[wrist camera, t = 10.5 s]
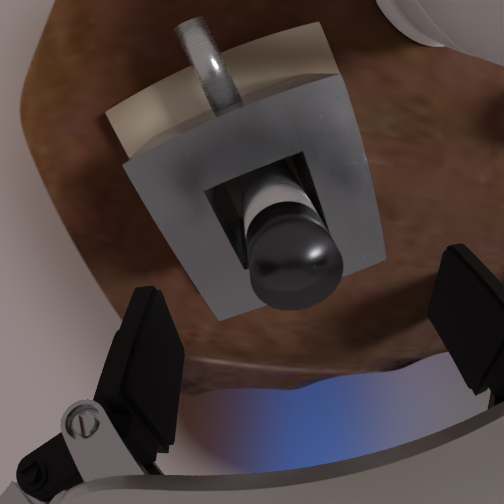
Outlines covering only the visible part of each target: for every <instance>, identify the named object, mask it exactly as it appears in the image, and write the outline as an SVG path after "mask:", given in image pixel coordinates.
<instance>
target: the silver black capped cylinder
mask: <svg viewBox="0 0 504 504" xmlns="http://www.w3.org/2000/svg"><path fill="white" fill-rule="evenodd" d="M239 181H240V190H241V199H242V209H243V218H244V227H245V236H246V245H247V255H248V264H249V273H250V282H251V286H252V289H253V291H254V293H255V294H256V296H257V297H258V298H259V299H260V300H261V301H262V302H264V303H265V304H267V305H269V306H271V307H273V308H276V309H281V310H300V309H305V308H308V307H311V306H314V305H316V304H318V303H320V302H321V301H323V300H324V299H326V298H327V297H328V296H329V295H330V294H331V293H332V292H333V291H334V290H335V289H336V287H337V286H338V284H339V282H340V280H341V278H342V274H343V258H342V255H341V253H340V251H339V249H338V248H337V246H336V244H335V242H334V241H333V239H332V237H331V235H330V234H329V232H328V230H327V228H326V227H325V225H324V223H323V222H322V220H321V218H320V216H319V215H318V213H317V211H316V210H315V208H314V206H313V205H312V203H311V201H310V200H309V198H308V196H307V195H306V193H305V192H304V190H303V188H302V187H301V185H300V183H299V182H298V180H297V179H296V177H295V175H294V174H293V172H292V171H291V169H290V168H289V166H288V164H287V163H286V161H285V160H284V159H281V160H278V161H275V162H273V163H270V164H268V165H265V166H263V167H260V168H257V169H255V170H252V171H250V172H248V173H245V174H243V175H240V176H239Z"/></svg>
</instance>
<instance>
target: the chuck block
mask: <svg viewBox="0 0 504 504" xmlns="http://www.w3.org/2000/svg"><path fill="white" fill-rule="evenodd" d="M174 31H175V33H176V35H177V37H178V39H179V41H180V44H181V46H182V48H183V50H184V52H185V54H186V56H187V58H188V60H189V62H190V64H191V66H192V68H193V71H194V73H195V75H196V77H197V79H198V81H199V83H200V85H201V87H202V90H203V92H204V94H205V96H206V98H207V100H208V102H209V104H210V107H211V109H210V110H208V111H206V112H204V113H201V114H199V115H197V116H195V117H193V118H191V119H188V120H186V121H184V122H182V123H180V124H178V125H176V126H174V127H172V128H170V129H168V130H166V131H164V132H162V133H160V134H158V135H156V136H154V137H152V138H151V139H150V140H149V141H148V142H147V143H146V144H144V145H143V146H142V147H141V148H140V149H139V150H138V151H137V152H135V153H134V154H133V155H132V156H131V157H130V158H129V159H128V160H127V161H126V162H125V163H124V164H122V166H123V168H124V169H125V171H126V173H127V175H128V177H129V178H130V180H131V182H132V184H133V185H134V187H135V189H136V191H137V192H138V194H139V196H140V197H141V199H142V201H143V203H144V204H145V206H146V208H147V209H148V211H149V213H150V214H151V216H152V218H153V219H154V221H155V223H156V224H157V226H158V228H159V229H160V231H161V232H162V234H163V236H164V237H165V239H166V241H167V242H168V244H169V245H170V247H171V249H172V250H173V252H174V253H175V255H176V257H177V258H178V260H179V261H180V263H181V264H182V266H183V268H184V269H185V271H186V272H187V274H188V275H189V277H190V278H191V280H192V281H193V283H194V284H195V286H196V288H197V289H198V291H199V292H200V294H201V295H202V297H203V298H204V300H205V301H206V303H207V304H208V306H209V307H210V308H211V310H212V311H213V313H214V314H215V316H216V317H217V319H218V320H219V321H221V320H224V319H227V318H230V317H233V316H236V315H239V314H242V313H245V312H248V311H251V310H254V309H257V308H260V307H263V306H266V305H267V304H265V303H264V302H262V301H261V300H260V299H259V298H258V297H257V296H256V294H255V293H254V291H253V289H252V286H251V282H250V273H249V264H248V255H247V245H246V236H245V227H244V218H243V216H242V217H239V215H238V213H237V211H236V208H235V206H234V204H233V202H232V200H231V198H230V196H229V194H228V192H227V190H226V188H225V185H224V183H223V182H226V181H228V180H231V179H233V178H235V177H238V176H240V175H243V174H245V173H248V172H250V171H252V170H255V169H257V168H260V167H263V166H265V165H268V164H270V163H273V162H275V161H278V160H281V159H283V158H286V157H289V156H292V159H293V162H294V164H295V167H296V170H297V172H298V175H299V178H300V181H301V184H302V186H303V189H304V192H305V193H306V195H307V196H308V198H309V200H310V201H311V203H312V205H313V206H314V208H315V210H316V211H317V213H318V215H319V216H320V218H321V220H322V222H323V223H324V225H325V227H326V228H327V230H328V232H329V234H330V235H331V237H332V239H333V241H334V242H335V244H336V246H337V248H338V249H339V251H340V253H341V255H342V258H343V274H342V277H344V276H347V275H349V274H352V273H354V272H357V271H359V270H362V269H364V268H367V267H369V266H372V265H374V264H377V263H379V262H382V261H384V260H386V252H385V246H384V240H383V234H382V228H381V223H380V217H379V212H378V207H377V202H376V197H375V193H374V188H373V184H372V179H371V175H370V171H369V166H368V162H367V158H366V154H365V151H364V147H363V143H362V139H361V136H360V132H359V129H358V125H357V122H356V118H355V115H354V112H353V109H352V105H351V102H350V99H349V96H348V93H347V90H346V87H345V84H344V81H343V78H342V75H341V74H327V73H308V74H303V75H300V76H297V77H294V78H291V79H288V80H285V81H282V82H279V83H276V84H273V85H271V86H268V87H265V88H262V89H260V90H257V91H254V92H252V93H249V94H246V95H244V96H240V94H239V92H238V89H237V87H236V85H235V83H234V80H233V78H232V76H231V74H230V72H229V69H228V67H227V65H226V63H225V61H224V59H223V56H222V54H221V52H220V50H219V48H218V46H217V44H216V42H215V39H214V37H213V35H212V33H211V31H210V29H209V27H208V25H207V23H206V21H205V19H204V17H196V18H193V19H190V20H188V21H185V22H183V23H181V24H180V25H178V26H177V27H175V28H174Z"/></svg>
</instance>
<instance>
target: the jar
mask: <svg viewBox="0 0 504 504" xmlns="http://www.w3.org/2000/svg"><path fill="white" fill-rule="evenodd" d="M376 2H377V4H378V6H379V8H380V9H381V11H382V12H383V14H384V15H385V16H386V18H387V19H388V20H389V21H390V22H391V23H392V24H393V25H394V26H395V27H396V28H397V29H398V30H399V31H400V32H402V33H403V34H404V35H406V36H407V37H409V38H410V39H412V40H414V41H416V42H418V43H420V44H423V45H427V46H431V47H443V46H446V47H449V48H451V49H453V50H456V51H459V52H461V53H465V54H468V55H471V56H475V57H480V58H482V59H485V60H487V61H490V62H492V63H495V64H498V65H501V66H504V0H376Z"/></svg>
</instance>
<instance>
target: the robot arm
mask: <svg viewBox="0 0 504 504" xmlns="http://www.w3.org/2000/svg"><path fill="white" fill-rule="evenodd" d="M428 317H429V319H430V321H431V323H432V324H433V326H434V327H435V329H436V331H437V332H438V334H439V336H440V337H441V339H442V341H443V343H444V344H445V346H446V348H447V350H448V351H449V353H450V355H451V357H452V358H453V360H454V362H455V364H456V365H457V367H458V369H459V371H460V373H461V375H462V377H463V378H464V381H465V382H466V384H467V386H468V387H469V388H470V389H472V390H473V392H474V394H475V396H476V395H478V394H480V393H482V392H484V391H486V390H487V389H488V388H489V389H490V390H491V394H490V400H489V404H488V410H486V411H484V412H482V413H480V414H478V415H476V416H474V417H472V418H470V419H467V420H465V421H463V422H461V423H458V424H456V425H454V426H452V427H449V428H446V429H444V430H441V431H439V432H436V433H434V434H431V435H428V436H426V437H423V438H420V439H418V440H414V441H412V442H409V443H406V444H403V445H399V446H396V447H393V448H389V449H386V450H383V451H379V452H376V453H372V454H368V455H364V456H360V457H356V458H352V459H348V460H343V461H338V462H333V463H328V464H323V465H317V466H311V467H306V468H298V469H292V470H284V471H276V472H265V473H253V474H237V475H214V476H213V475H211V476H184V475H183V476H182V475H164V474H163V472H162V471H161V470H160V469H159V467H158V466H157V465H156V463H155V462H154V461H156V456H157V453H168V452H169V445H173V444H174V441H175V432H176V422H177V413H178V405H179V396H180V388H181V380H182V372H183V365H184V357H185V354H184V347H183V345H182V342H181V340H180V338H179V335H178V333H177V330H176V328H175V325H174V323H173V320H172V318H171V315H170V312H169V310H168V307H167V305H166V302H165V299H164V297H163V294H162V292H161V290H156V288H155V287H154V286H146V287H137V288H135V290H134V292H133V295H132V298H131V300H130V303H129V305H128V308H127V310H126V313H125V316H124V318H123V321H122V324H121V327H120V329H119V330H118V331H117V332H116V334H115V336H114V339H113V341H112V344H111V347H110V350H109V353H108V356H107V359H106V361H105V364H104V367H103V370H102V373H101V376H100V379H99V383H98V386H97V389H96V392H95V396H94V399H93V400H88V399H87V400H80V401H78V402H75V403H74V404H72V405H71V406H70V407H68V409H67V410H66V411H65V413H64V414H63V417H62V419H61V430H62V432H61V433H59V434H58V435H56V436H55V437H54V438H52V439H50V440H49V441H48V442H46V443H45V444H43V445H42V446H40V447H39V448H37V449H36V450H34V451H33V452H31V453H30V454H28V455H27V456H25V457H24V458H23V459H22V460H21V461H20V463H19V465H18V468H17V472H16V474H17V475H16V477H17V483H15V482H13V481H12V482H11V483H10V485H9V486H8V487H7V488H6V490H5V491H4V492H3V493H2V495H1V496H0V504H504V286H503V285H502V284H501V282H500V281H499V280H498V279H497V278H496V277H495V276H494V275H493V274H492V273H491V271H490V270H489V269H488V268H487V267H486V266H485V265H484V264H483V263H482V262H481V261H480V260H479V259H478V258H477V257H476V256H475V255H474V254H473V253H472V252H471V251H470V250H469V249H468V248H467V247H466V246H465V245H464V244H455V245H450V246H448V247H447V248H446V251H444V252H443V255H442V259H441V263H440V268H439V272H438V276H437V280H436V283H435V287H434V291H433V294H432V298H431V301H430V305H429V308H428Z"/></svg>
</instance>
